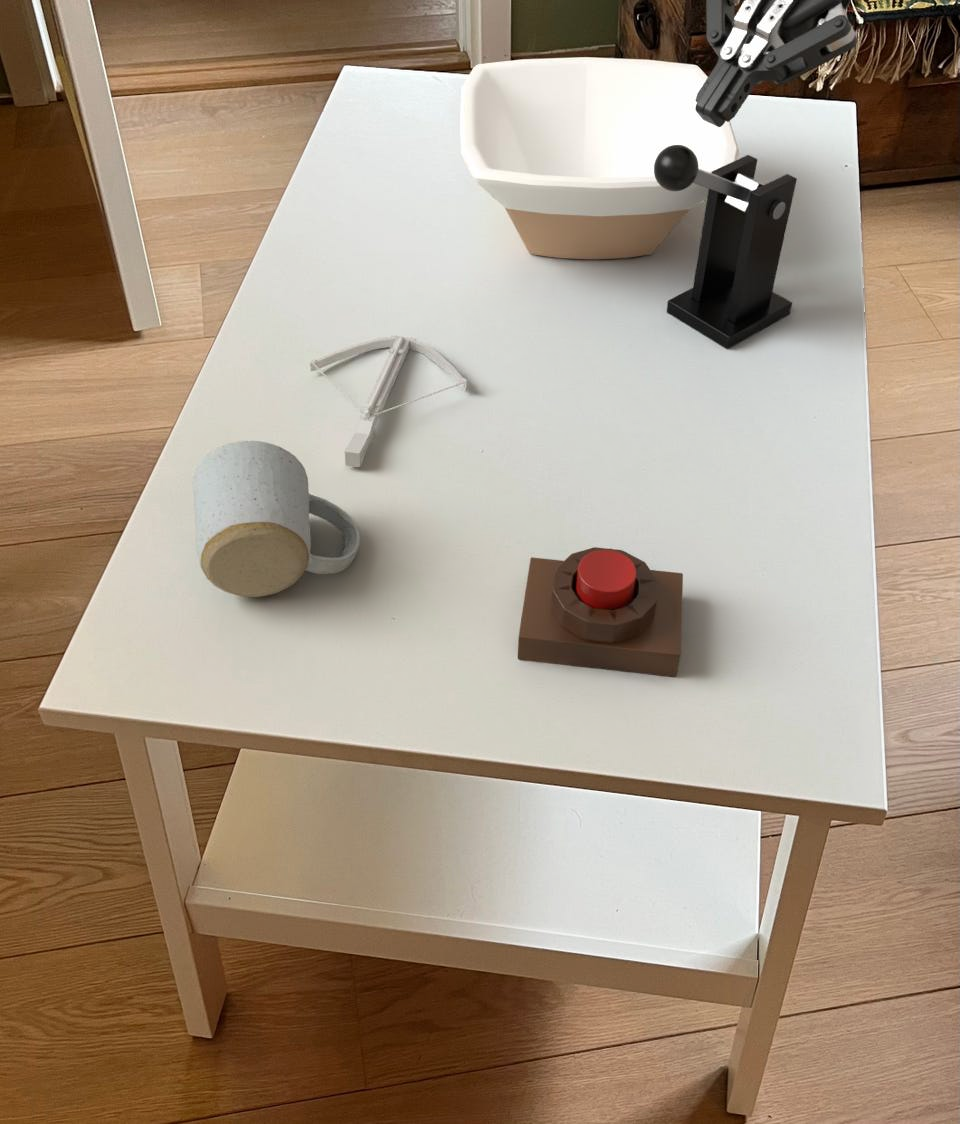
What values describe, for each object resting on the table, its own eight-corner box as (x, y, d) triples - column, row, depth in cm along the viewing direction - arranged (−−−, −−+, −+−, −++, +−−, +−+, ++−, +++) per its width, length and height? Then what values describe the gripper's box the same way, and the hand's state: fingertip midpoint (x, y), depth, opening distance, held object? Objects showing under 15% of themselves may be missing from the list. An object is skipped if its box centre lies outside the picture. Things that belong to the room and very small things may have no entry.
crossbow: (331, 343, 99) (329, 322, 98) (478, 362, 98) (479, 340, 96) (270, 456, 88) (267, 434, 86) (437, 479, 86) (436, 457, 85)
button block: (678, 595, 79) (686, 553, 76) (676, 677, 74) (684, 635, 71) (529, 579, 80) (531, 537, 77) (517, 659, 75) (519, 617, 72)
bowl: (460, 296, 103) (459, 184, 95) (461, 160, 120) (460, 55, 112) (732, 297, 103) (753, 185, 96) (694, 160, 120) (709, 56, 113)
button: (634, 571, 75) (637, 552, 74) (632, 613, 73) (635, 594, 72) (578, 565, 76) (580, 546, 74) (573, 607, 73) (575, 588, 72)
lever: (670, 193, 84) (691, 150, 83) (638, 176, 86) (657, 133, 84) (764, 226, 95) (784, 187, 93) (734, 210, 96) (752, 172, 95)
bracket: (727, 349, 98) (754, 209, 89) (666, 312, 102) (686, 173, 92) (790, 314, 102) (822, 175, 92) (728, 279, 105) (753, 143, 96)
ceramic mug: (205, 612, 77) (188, 528, 72) (201, 526, 83) (185, 442, 77) (367, 592, 79) (362, 508, 73) (353, 509, 84) (347, 425, 79)
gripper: (760, -164, 82) (618, 61, 85) (922, -116, 75) (760, 127, 78) (794, -96, 88) (661, 111, 91) (947, -46, 81) (796, 177, 84)
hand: (707, 118), depth 85 cm, fingers closed
